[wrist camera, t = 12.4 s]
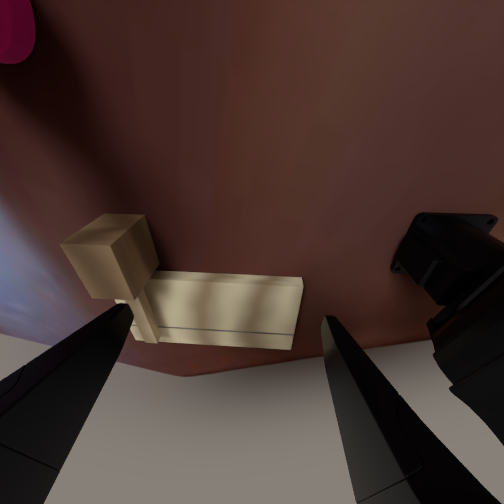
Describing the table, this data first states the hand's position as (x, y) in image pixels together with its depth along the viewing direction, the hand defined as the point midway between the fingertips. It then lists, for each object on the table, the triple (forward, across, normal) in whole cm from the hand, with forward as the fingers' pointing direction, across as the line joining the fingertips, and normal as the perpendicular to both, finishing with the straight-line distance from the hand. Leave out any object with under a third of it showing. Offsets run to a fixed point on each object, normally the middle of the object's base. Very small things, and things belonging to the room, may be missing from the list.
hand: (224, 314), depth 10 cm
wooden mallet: (+12, +12, +9) cm, 19 cm away
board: (+12, +5, +14) cm, 19 cm away
